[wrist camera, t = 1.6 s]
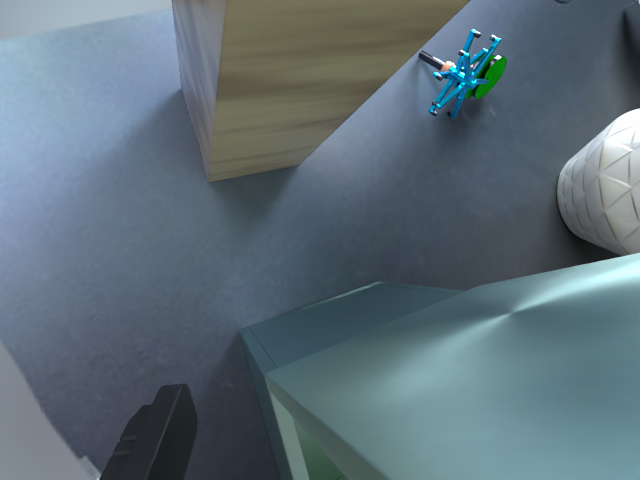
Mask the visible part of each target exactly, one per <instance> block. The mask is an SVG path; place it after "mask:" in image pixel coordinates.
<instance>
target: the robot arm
mask: <svg viewBox="0 0 640 480" xmlns="http://www.w3.org/2000/svg"><path fill="white" fill-rule="evenodd" d="M197 424H198V420H197V413H196V410H195V406H194V403H193V400H192V396H191V393H190V389H189V386H188V385H187V384H176V385H165V386H162V387H161V388H160V389H159V391H158V393H157V395H156V397H155V399H154V401H153V404H151V405H143V406H142V407H141V408H140V409H139V411H138V412H137V413H136V414H135V415H134V416H133V417H132V418H131V419H130V420H129V422H128V424H127V426H126V428H125V430H124V432H123V434H122V436H121V438H120V442H118V444H117V446H116V448H115V450H114V452H113V456H112V457H111V458H110V460H109V462H108V463H107V465H106V467H105V469H104V471H103V473H102V475H101V477H100V479H99V480H183V479H184V475H185V472H186V468H187V465H188V461H189V458H190V455H191V451H192V448H193V444H194V441H195V437H196V433H197Z"/></svg>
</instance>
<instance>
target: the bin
mask: <svg viewBox="0 0 640 480" xmlns="http://www.w3.org/2000/svg"><path fill="white" fill-rule="evenodd" d="M463 292H465V291H462V290H454V289H445V288H436V287H428V286H419V285H411V284H402V283H393V282H385V281H376V282H374V283H371V284H368V285H365V286H362V287H359V288H357V289H354V290H351V291H348V292H345V293H342V294H340V295H337V296H334V297H331V298H328V299H325V300H323V301H320V302H317V303H314V304H311V305H308V306H306V307H303V308H300V309H297V310H294V311H291V312H289V313H286V314H283V315H280V316H277V317H274V318H272V319H269V320H266V321H263V322H260V323H257V324H255V325H252V326H249V327H246V328H243V329H240V330H239V334H240V337H241V341H242V344H243V348H244V351H245V355H246V359H247V362H248V366H249V369H250V373H251V377H252V380H253V384H254V387H255V391H256V394H257V398H258V402H259V405H260V409H261V412H262V416H263V420H264V423H265V427H266V430H267V434H268V437H269V441H270V445H271V448H272V452H273V455H274V459H275V463H276V466H277V470H278V473H279V477H280V480H348V478H347V477H346V476H345V475H344V474H343V473H342V472H341V471H340V469H339V468H338V467H337V466H336V465H335V464H334V463H333V462H332V460H331V459H330V458H329V457H328V456H327V455H326V454H325V453H324V452H323V450H322V449H321V448H320V447H319V446H318V445H317V444H316V443H315V441H314V440H313V439H312V438H311V437H310V436H309V435H308V434H307V432H306V431H305V430H304V429H303V428H302V427H301V426H300V425H299V423H298V422H297V421H296V420H295V419H294V418H293V417H292V416H291V414H290V413H289V412H288V411H287V410H286V409H285V408H284V407H283V405H282V404H281V403H280V402H279V401H278V400H277V399H276V398H275V397H274V395H273V394H272V393H271V392H270V390H269V387H268V384H267V380H266V377H265V374H266V373H268V372H270V371H273V370H275V369H278V368H280V367H282V366H285V365H287V364H290V363H292V362H295V361H297V360H299V359H302V358H304V357H307V356H309V355H312V354H314V353H317V352H319V351H321V350H324V349H326V348H329V347H331V346H334V345H336V344H338V343H341V342H343V341H346V340H348V339H351V338H353V337H355V336H358V335H360V334H363V333H365V332H368V331H370V330H372V329H375V328H377V327H380V326H382V325H385V324H387V323H390V322H392V321H394V320H397V319H399V318H402V317H404V316H407V315H409V314H411V313H414V312H416V311H419V310H421V309H424V308H426V307H428V306H431V305H433V304H436V303H438V302H441V301H443V300H446V299H448V298H450V297H453V296H455V295H458V294H460V293H463Z"/></svg>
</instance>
